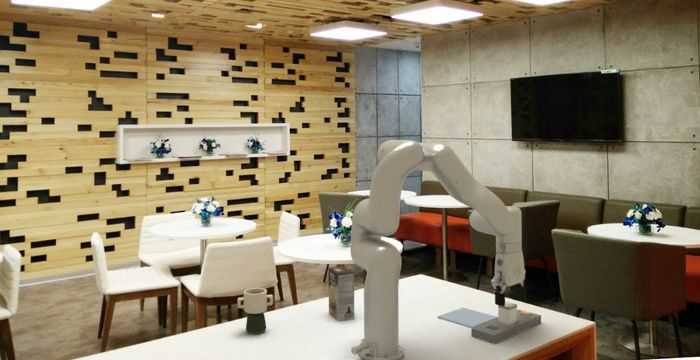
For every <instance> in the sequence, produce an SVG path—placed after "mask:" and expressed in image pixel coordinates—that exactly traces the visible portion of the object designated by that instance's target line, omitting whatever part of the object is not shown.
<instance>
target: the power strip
mask: <svg viewBox="0 0 700 360" xmlns="http://www.w3.org/2000/svg"><path fill="white" fill-rule="evenodd" d="M541 323H542V314H538V313H534V312H530V311H527V310H521V309H517V323H515V324H512V325H507V324H503V323H499V322H498V318H496V319H494V320H491V321H489V322H486V323H484V324H481V325H479V326H476V327H474V328H470V329H471V330H470V331H471V332H470V333H471V337H472V338H475V339H477V340H478V339H479V340H482V341H484V342H488V343H491V344H494V345H495V344H497V343H499V342H502V341H504V340H505V339H509V338H511V337H513V336H515V335H517V334H519V333H522V332H523V331H526V330H529V329H530V328H532V327H535V326H538V325H539V324H541ZM510 336H511V337H510Z"/></svg>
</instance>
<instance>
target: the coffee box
mask: <svg viewBox="0 0 700 360" xmlns="http://www.w3.org/2000/svg"><path fill="white" fill-rule="evenodd" d="M328 313H329V315H331V316H332V317H333V318H334V319H335V320H336V321H337V322H341V321H347V320H348V321H349V320H355V271H354V270H352V269H351V268H349V267H347V266H346V265H340V266H331V267H328Z"/></svg>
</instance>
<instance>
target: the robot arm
mask: <svg viewBox="0 0 700 360" xmlns="http://www.w3.org/2000/svg"><path fill="white" fill-rule="evenodd" d="M376 155H377V156H376V157H377V160H378V164H377V166H376V167H375V168H374V171H373V174H372V177H371V181H370V189H369V197H368V198H365V199H362V200H361V201H359V202H358V204H357V205H356V206H355V208H354V210H353V213H352V218H351V231H350V256H351V260H352V262H353V263H354V264H355V265H356V266H357V267H359V268H361V269H362V270H364V271H366V277H365V281H364V283H363V284H364V286H363V336H364V337H363V338H361V343H360V344H359V345H357V346H353V347H352V348H351V349H350V350H351V354H352V355H354V356H355V355H359V357H361V359H364V360H400V359H402V358H403V357H404V356H405V349H404V347H403V346H402V345H400V344H399V342H400V340H399V337H400V335H399V332H400V331H399V327H400V326H399V322H400V321H399V285H400V284H399V283H400V275H401V270H402V255H401V252H400V251H399V250H398V248H397V246H395V245H394V244H393V243H391V242H389V241H386V240H383V239H382V237H389V236H392V235H394V233H396V232H397V230H398V228H399V226H400V217H401V216H400V214H401V213H400V212H401V198H402V197H401V196H402V188H403V184H404V183H405V181H406V178H407V177H408V175H410V174H411V173H412V172H414V171H415V172H419V171H420V172H429V173H432V175H433V176H434V177H435V178H436V179H437V181H438V182H439V183H440V184H441V185H442V187H443V188H444V190H445V191H446V192H447V193H448V195H449V196H450V197H451V198H452V199H454V200H456V201H457V202H459V203H461V204H463V205H465V206H467V207H469V208H471V209H473V211H471V213H470V214H469V215H470V216H469V224H470V227H472V228H473V229H474V230H475V231H477V232H480V233H483V234H489V235H491V236H492V235H493V236H495V252H496V254H495V261H494V262H495V263H494V276H493V278H492V279H491V280H490V283H491V286H492V287H491V288H492V290H493V292H494V304H495V305H497V306H498V305H500V306H505V302H506V293H505V290H506V288H507V287H510V288H511V287H512V297H513V298H514V299H519V300H523V296H524V293H523V292H524V291H523V290H524V289H523V287H524V284H525V283H524V281H525V279H526V272H527V271H526V269H525V260H524V255H523V250H522V241H523V240H522V237H523V236H522V235H523V234H522V231H523V230H522V210H521V209H520V208H519V207H517V206H509V205H506V204H505V203H504V201H503V200H501V198H499V196H497V195H496V194H495V193H494V192H493V191H491V190H490V189H488V188H487V187H486V186H485V185H484V184H482V183H481V182H480V181H478V180H477V179H476V178H475V177H474V176H473V175H472V173H471V172H470V171H469V170H468V167H466V166H465V164H464V163H463V162H462V160H461V159H460V158H459V156H458V155H457V154H456V152H455V151H454V150H453V149H452V148H451V146H450V145H447V144H446V143H443V142H418V141H416V140H412V139H390V140H386V141H384V142H382V143H381V144H380V146H379V147H378V149H377V154H376Z"/></svg>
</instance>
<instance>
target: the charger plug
mask: <svg viewBox="0 0 700 360" xmlns="http://www.w3.org/2000/svg"><path fill="white" fill-rule="evenodd" d="M517 310H518V304H517V303H512V302H509V301H505V306H500V305H497V311H498V313H497V315H498V316H497V317H498V322H499V323H503V324H507V325H512V324H515V323H517Z"/></svg>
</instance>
